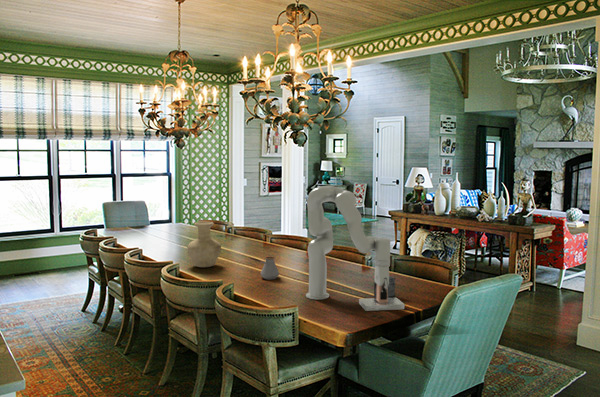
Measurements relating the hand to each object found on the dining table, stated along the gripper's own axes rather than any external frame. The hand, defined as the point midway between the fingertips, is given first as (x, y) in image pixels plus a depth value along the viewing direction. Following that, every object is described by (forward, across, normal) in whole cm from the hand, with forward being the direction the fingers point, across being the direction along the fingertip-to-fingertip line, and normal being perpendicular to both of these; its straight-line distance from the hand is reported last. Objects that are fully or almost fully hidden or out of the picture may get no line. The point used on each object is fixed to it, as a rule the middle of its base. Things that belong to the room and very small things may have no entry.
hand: (381, 297), depth 249 cm
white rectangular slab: (+5, 0, 0) cm, 5 cm away
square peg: (+2, 0, 0) cm, 2 cm away
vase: (+3, -100, -92) cm, 136 cm away
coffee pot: (+4, -61, -55) cm, 83 cm away
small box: (+5, -16, +7) cm, 18 cm away
